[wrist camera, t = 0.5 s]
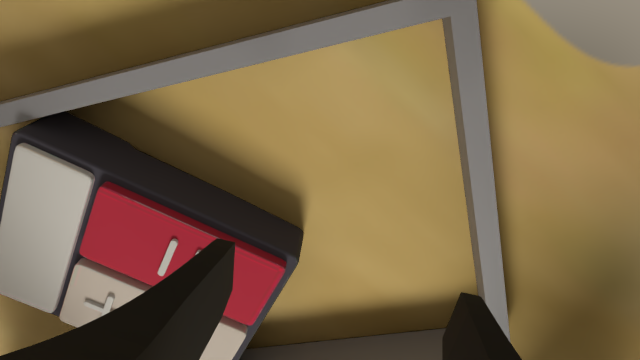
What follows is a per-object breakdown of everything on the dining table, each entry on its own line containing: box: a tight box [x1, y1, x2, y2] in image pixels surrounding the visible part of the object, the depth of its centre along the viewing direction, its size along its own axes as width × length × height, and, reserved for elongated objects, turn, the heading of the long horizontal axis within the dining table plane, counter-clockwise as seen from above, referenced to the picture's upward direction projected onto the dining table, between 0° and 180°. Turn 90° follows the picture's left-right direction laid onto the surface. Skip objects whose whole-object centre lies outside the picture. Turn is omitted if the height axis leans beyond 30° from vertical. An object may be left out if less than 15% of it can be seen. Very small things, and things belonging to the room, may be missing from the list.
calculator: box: [0, 111, 303, 360], centre depth 25 cm, size 11×4×15 cm
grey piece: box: [0, 0, 510, 360], centre depth 24 cm, size 25×20×2 cm
